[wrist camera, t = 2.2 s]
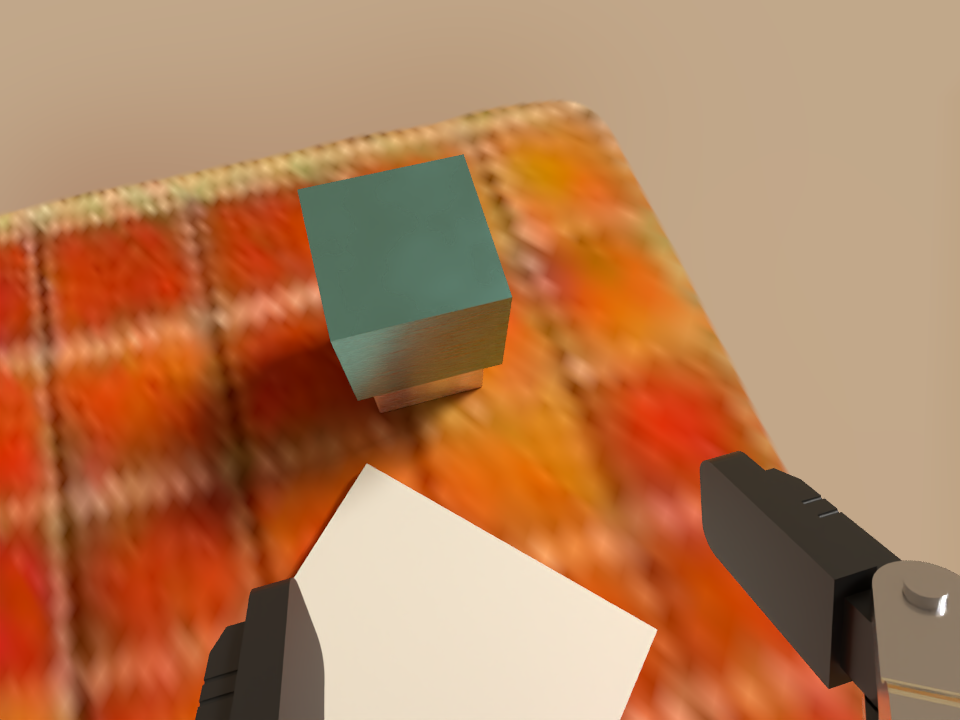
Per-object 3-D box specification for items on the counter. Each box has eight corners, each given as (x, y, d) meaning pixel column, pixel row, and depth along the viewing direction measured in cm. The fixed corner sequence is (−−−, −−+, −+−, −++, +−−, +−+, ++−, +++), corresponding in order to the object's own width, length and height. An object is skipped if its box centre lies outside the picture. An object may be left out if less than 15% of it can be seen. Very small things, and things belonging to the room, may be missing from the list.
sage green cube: (357, 400, 27) (330, 341, 21) (329, 273, 29) (297, 189, 23) (502, 363, 28) (512, 297, 22) (463, 242, 30) (463, 154, 24)
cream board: (203, 730, 26) (194, 734, 25) (369, 468, 30) (366, 463, 29) (517, 946, 23) (520, 959, 22) (650, 629, 27) (657, 629, 27)
